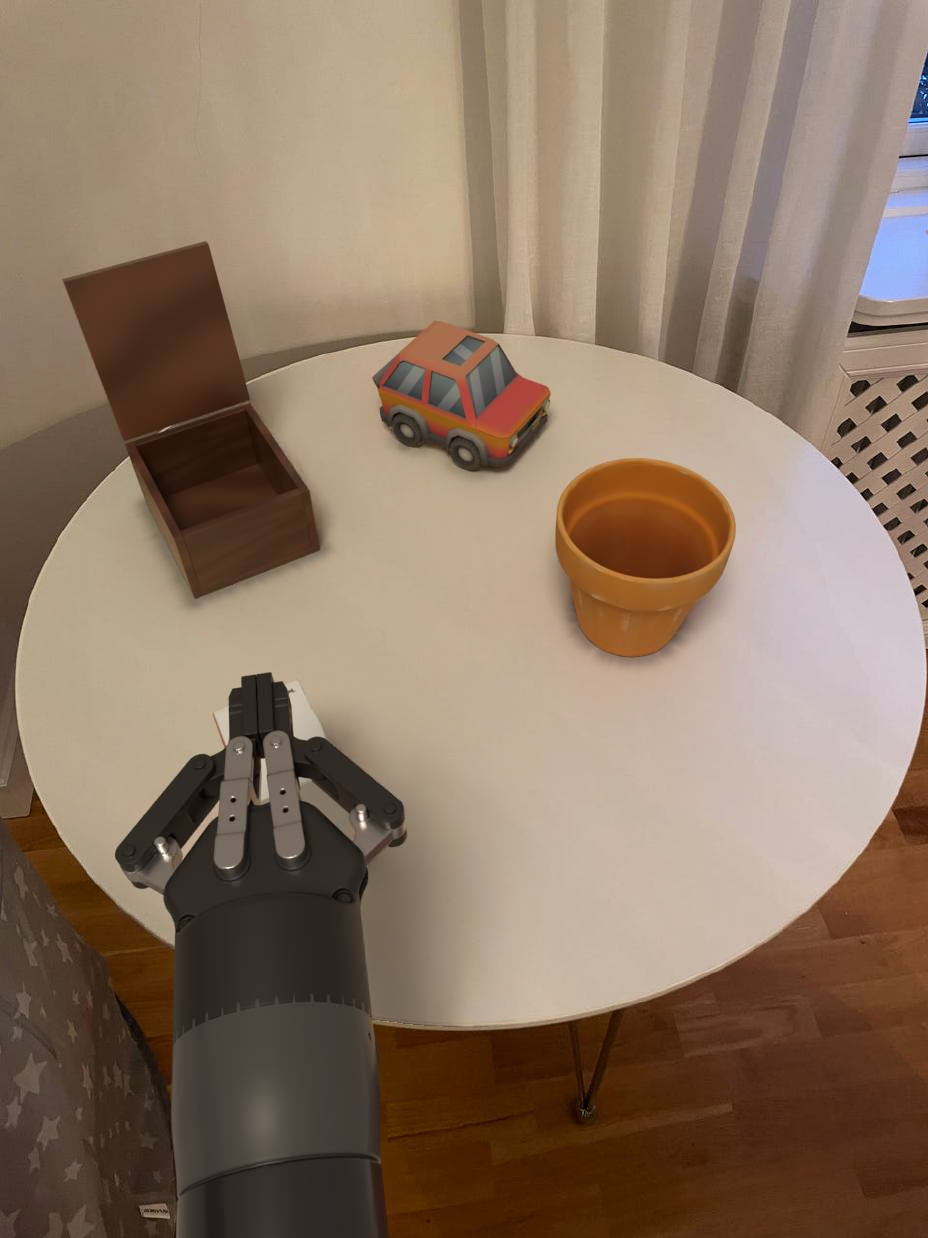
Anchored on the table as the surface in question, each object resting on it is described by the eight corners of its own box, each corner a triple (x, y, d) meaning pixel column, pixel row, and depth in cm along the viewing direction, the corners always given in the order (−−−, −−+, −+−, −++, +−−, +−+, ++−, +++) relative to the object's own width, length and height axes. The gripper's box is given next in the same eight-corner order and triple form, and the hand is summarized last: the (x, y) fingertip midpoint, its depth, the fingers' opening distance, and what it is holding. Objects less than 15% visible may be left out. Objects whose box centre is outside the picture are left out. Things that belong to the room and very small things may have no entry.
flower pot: (521, 648, 82) (528, 545, 72) (580, 543, 90) (594, 438, 80) (675, 706, 78) (706, 606, 68) (723, 591, 86) (757, 487, 76)
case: (320, 550, 90) (309, 490, 84) (194, 599, 86) (174, 539, 80) (263, 462, 98) (250, 402, 92) (146, 503, 94) (124, 443, 88)
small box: (245, 803, 73) (209, 709, 62) (322, 771, 74) (299, 675, 64) (279, 893, 68) (247, 807, 58) (360, 857, 70) (342, 767, 60)
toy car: (502, 486, 96) (506, 407, 88) (368, 431, 101) (360, 352, 94) (556, 425, 102) (563, 346, 94) (427, 376, 107) (423, 298, 100)
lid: (208, 242, 81) (205, 240, 82) (63, 281, 77) (61, 278, 78) (250, 400, 91) (248, 396, 92) (124, 441, 87) (122, 438, 88)
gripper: (444, 981, 33) (385, 616, 44) (63, 1051, 32) (99, 656, 43) (449, 1042, 39) (396, 706, 50) (126, 1104, 38) (144, 744, 49)
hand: (259, 683), depth 46 cm, fingers closed
